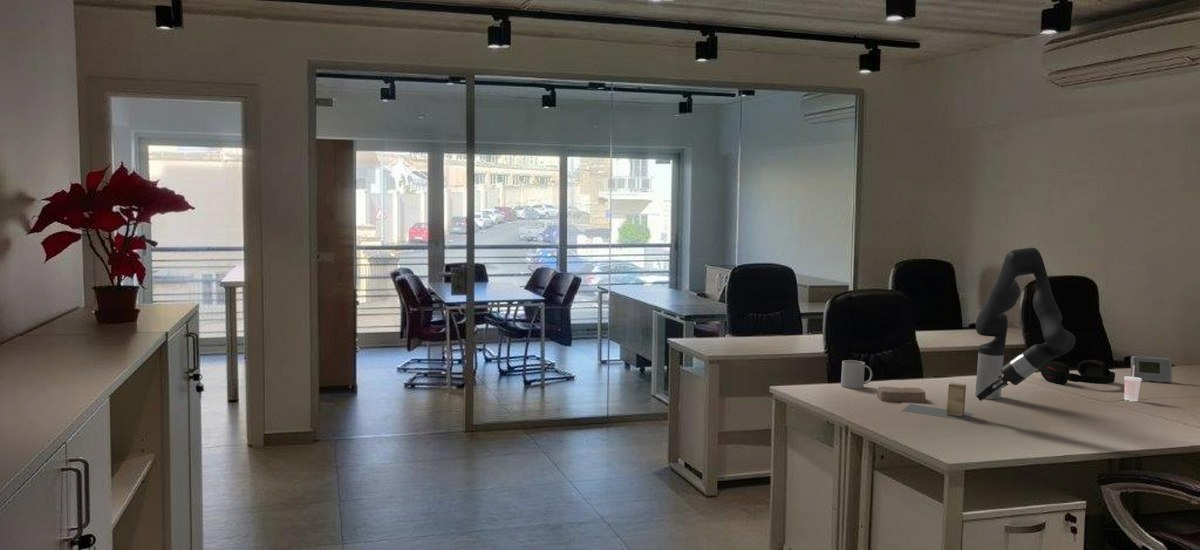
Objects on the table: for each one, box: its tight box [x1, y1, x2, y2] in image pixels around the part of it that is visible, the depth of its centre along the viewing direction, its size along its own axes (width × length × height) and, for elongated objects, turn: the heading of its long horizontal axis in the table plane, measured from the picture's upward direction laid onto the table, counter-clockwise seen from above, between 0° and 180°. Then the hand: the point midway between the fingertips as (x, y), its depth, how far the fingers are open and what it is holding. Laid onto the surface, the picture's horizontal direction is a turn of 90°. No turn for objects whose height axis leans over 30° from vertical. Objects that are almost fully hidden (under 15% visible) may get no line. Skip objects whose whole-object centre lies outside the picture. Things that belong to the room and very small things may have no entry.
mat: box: [901, 403, 974, 422], centre depth 317 cm, size 13×22×1 cm, turn 59°
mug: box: [840, 359, 873, 390], centre depth 357 cm, size 11×10×10 cm
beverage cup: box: [1123, 365, 1143, 402], centre depth 349 cm, size 6×6×14 cm
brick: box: [876, 386, 927, 403], centre depth 337 cm, size 17×8×5 cm, turn 86°
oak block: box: [946, 381, 967, 417], centre depth 313 cm, size 5×5×11 cm
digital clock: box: [1130, 355, 1173, 384], centre depth 391 cm, size 16×9×11 cm, turn 64°
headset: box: [1039, 359, 1116, 385], centre depth 383 cm, size 30×28×9 cm
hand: (978, 398), depth 309 cm, fingers closed
